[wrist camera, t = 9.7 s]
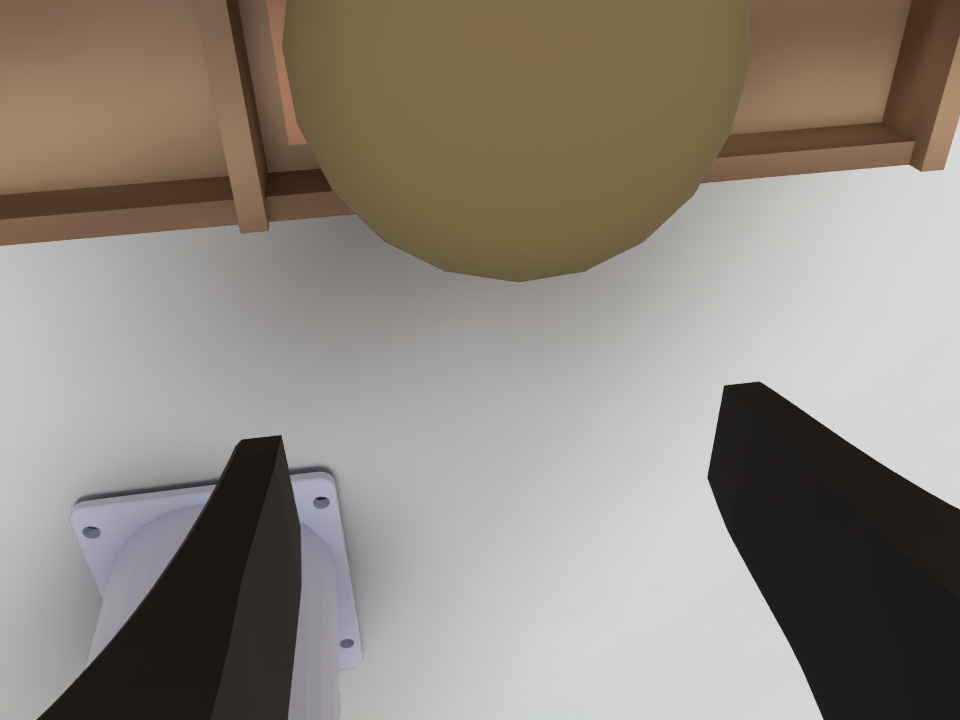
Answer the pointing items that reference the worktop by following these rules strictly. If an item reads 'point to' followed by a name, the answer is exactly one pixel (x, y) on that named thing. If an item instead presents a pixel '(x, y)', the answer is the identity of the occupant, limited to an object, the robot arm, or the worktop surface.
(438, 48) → the olive bulbous cylinder
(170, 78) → the spice rack
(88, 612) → the worktop surface
